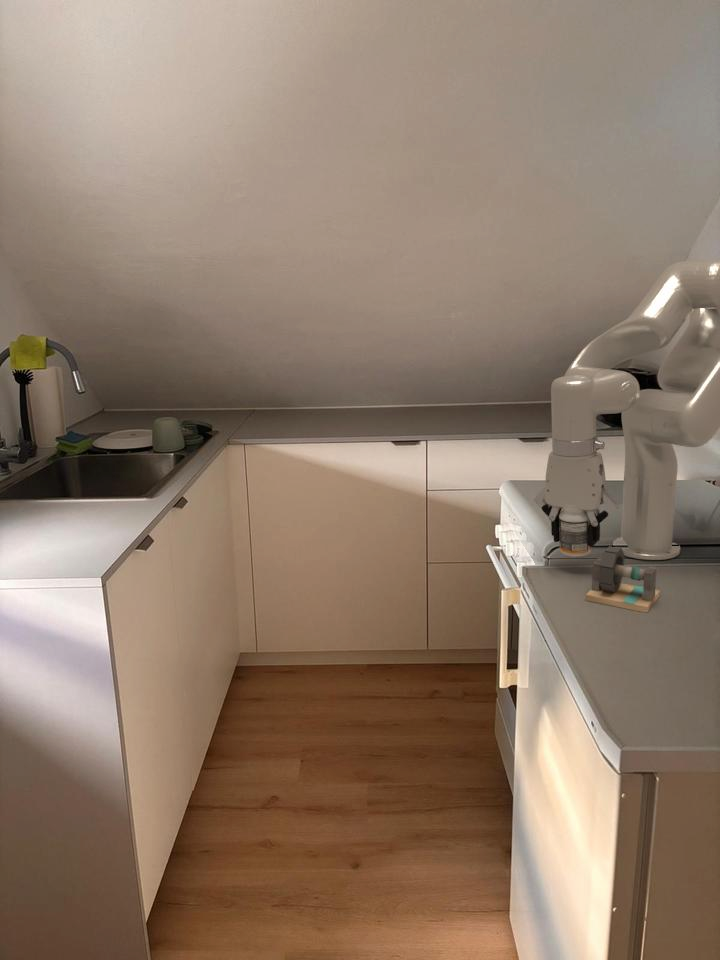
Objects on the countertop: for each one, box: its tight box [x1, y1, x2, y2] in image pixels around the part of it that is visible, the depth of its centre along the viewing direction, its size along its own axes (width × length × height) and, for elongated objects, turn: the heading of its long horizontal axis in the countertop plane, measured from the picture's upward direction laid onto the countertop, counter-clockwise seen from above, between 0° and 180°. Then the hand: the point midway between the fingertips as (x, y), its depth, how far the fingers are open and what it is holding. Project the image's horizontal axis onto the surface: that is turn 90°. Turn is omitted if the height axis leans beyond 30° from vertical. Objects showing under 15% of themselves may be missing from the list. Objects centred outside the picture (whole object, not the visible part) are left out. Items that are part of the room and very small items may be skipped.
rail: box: [584, 557, 661, 614], centre depth 129 cm, size 8×10×6 cm
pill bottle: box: [558, 504, 593, 557], centre depth 140 cm, size 6×6×10 cm
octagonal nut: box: [599, 545, 625, 592], centre depth 129 cm, size 7×2×7 cm, turn 146°
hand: (575, 541), depth 141 cm, fingers closed on pill bottle, 5 cm apart
